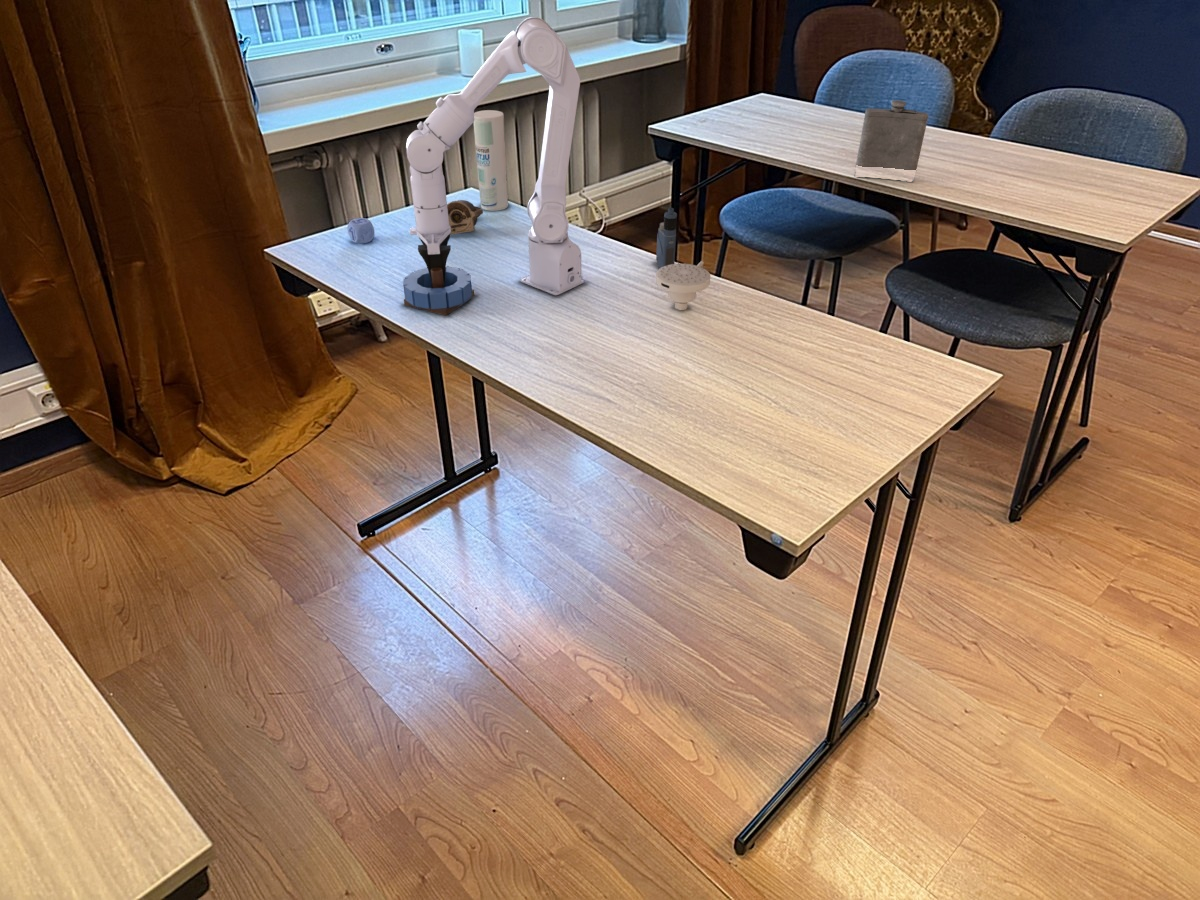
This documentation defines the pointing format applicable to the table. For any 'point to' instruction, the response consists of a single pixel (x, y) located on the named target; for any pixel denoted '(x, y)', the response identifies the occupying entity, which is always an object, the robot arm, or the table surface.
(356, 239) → the decorative dice
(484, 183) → the spray can
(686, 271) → the showerhead
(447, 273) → the ring
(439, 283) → the brown peg stand
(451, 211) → the mechanical counter
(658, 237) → the vaping device
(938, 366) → the table surface
